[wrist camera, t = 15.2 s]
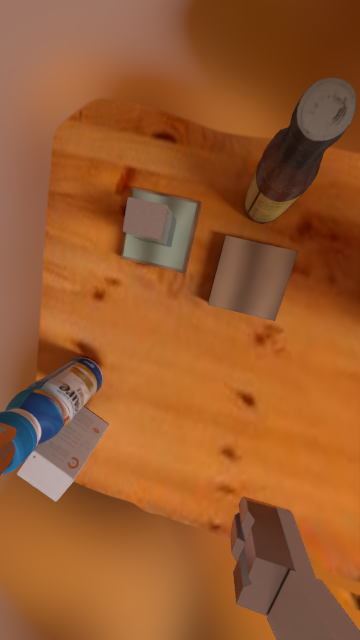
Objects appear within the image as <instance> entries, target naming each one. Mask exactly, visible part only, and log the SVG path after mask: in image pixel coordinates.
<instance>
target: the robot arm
mask: <svg viewBox="0 0 360 640" xmlns="http://www.w3.org/2000/svg"><path fill="white" fill-rule="evenodd" d="M15 437H16V428H14V427H12V426H9V425H6V424H3V423H0V475H1V474H2V473H3V472H4V471H5V470H6V469H7V467H8V466H9V464H10V463H11V461H12V460H13V457H14V454H15V445H14V443H13V441H12V440H13V439H14V438H15ZM239 511H240V512H239V513H237V514H236V515H235V516H234V519H233V522H232V528H231V552H232V554H233V556H234V558H235V560H236V562H237V563H236V566H235V569H234V571H233V575H234V585H235V597H236V604H237V605H240V606H242V607H245V608H248V609H250V610H252V611H255V612H258V613H260V614H263V615H266V616H268V617H267V620H268V622H269V624H270V626H271V629H272V631H273V633H274V635H275V637H276V639H277V640H360V630H359V629H358V627H357V626H356V625H355V623H354V622H353V621H352V620H351V618H350V617H349V616H348V614H347V613H346V612H345V610H344V609H343V608H342V606H341V605H340V604H339V602H338V601H337V600H336V598H335V597H334V596H333V594H332V593H331V592H330V590H329V589H328V588H327V586H326V585H325V584H324V582H323V581H322V580H320V579H317V578H316V576H315V574H314V571H313V568H312V565H311V563H310V560H309V557H308V554H307V552H306V549H305V546H304V543H303V541H302V538H301V535H300V532H299V530H298V527H297V524H296V521H295V519H294V516H293V514H292V512H291V511H290V510H287V509H284V508H281V507H277V506H273V505H271V504H268V503H264V502H261V501H257V500H254V499H251V498H247V497H244V496H243V497H242V498H241V500H240V503H239Z"/></svg>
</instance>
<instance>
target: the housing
mask: <svg viewBox="0 0 360 640" xmlns="http://www.w3.org/2000/svg"><path fill="white" fill-rule="evenodd" d="M176 222H177V221H176V219H175V217H174V216H173V214H172V212H171V210H170V209H169V207H168V205H163V204H159V203H154V202H149V201H145V200H140V199H135V198H131V197H128V200H127V206H126V212H125V219H124V225H123V232H125V233H127V234H129V235H131V236H133V237H135V238H137V239H139V240H141V241H145V242H149V243H154V244H158V245H162V246H167V247H171V246H172V241H173V237H174V232H175V227H176Z"/></svg>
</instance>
